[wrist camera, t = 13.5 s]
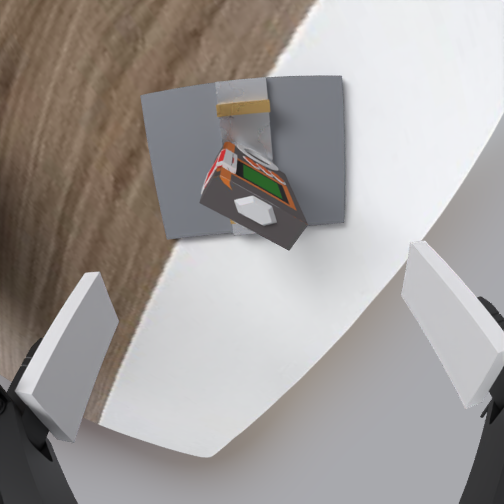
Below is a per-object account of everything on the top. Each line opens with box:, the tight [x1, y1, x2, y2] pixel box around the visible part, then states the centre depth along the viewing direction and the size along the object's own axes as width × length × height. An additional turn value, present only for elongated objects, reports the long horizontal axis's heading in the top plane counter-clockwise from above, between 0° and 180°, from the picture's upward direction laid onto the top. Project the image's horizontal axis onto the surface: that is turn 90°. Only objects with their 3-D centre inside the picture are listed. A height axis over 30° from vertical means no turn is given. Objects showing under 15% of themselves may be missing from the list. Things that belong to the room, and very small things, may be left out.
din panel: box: [141, 76, 345, 239], centre depth 34 cm, size 21×17×1 cm
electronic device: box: [199, 141, 308, 250], centre depth 26 cm, size 7×3×15 cm, turn 59°
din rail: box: [215, 77, 273, 235], centre depth 32 cm, size 5×17×3 cm, turn 5°
